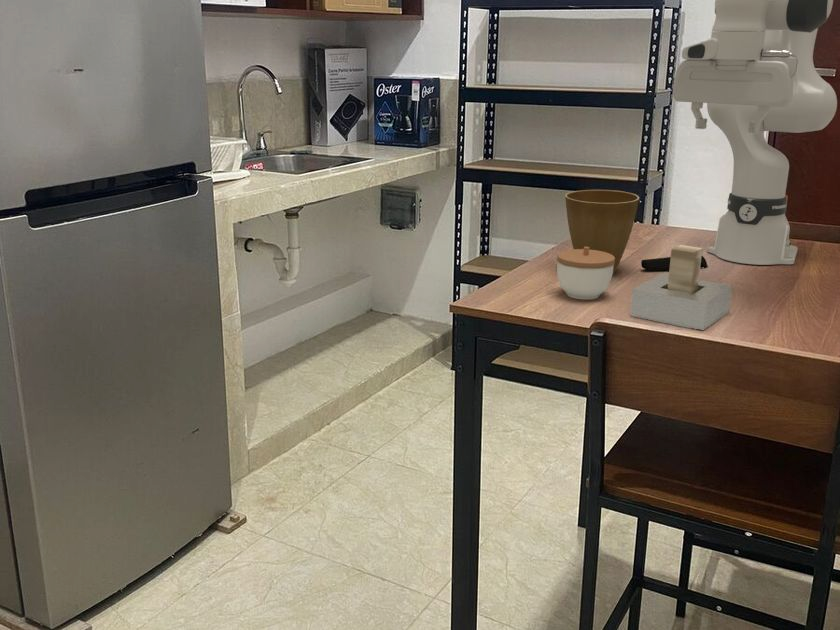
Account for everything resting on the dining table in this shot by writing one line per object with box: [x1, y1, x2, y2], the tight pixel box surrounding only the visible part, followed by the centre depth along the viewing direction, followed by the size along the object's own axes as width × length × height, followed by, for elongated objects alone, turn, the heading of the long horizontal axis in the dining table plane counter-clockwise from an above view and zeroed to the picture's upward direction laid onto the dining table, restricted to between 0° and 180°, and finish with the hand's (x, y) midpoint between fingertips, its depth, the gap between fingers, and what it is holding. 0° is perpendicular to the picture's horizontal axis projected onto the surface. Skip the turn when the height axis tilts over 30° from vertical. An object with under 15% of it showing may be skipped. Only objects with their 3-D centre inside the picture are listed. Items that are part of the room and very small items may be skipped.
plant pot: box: [564, 189, 640, 274], centre depth 176 cm, size 15×15×16 cm
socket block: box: [630, 273, 733, 331], centre depth 150 cm, size 13×13×5 cm
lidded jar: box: [556, 247, 615, 301], centre depth 160 cm, size 11×11×9 cm
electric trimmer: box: [640, 255, 708, 272], centre depth 180 cm, size 4×16×3 cm, turn 109°
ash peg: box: [667, 244, 703, 294], centre depth 148 cm, size 4×4×12 cm
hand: (726, 130), depth 151 cm, fingers open, 8 cm apart
